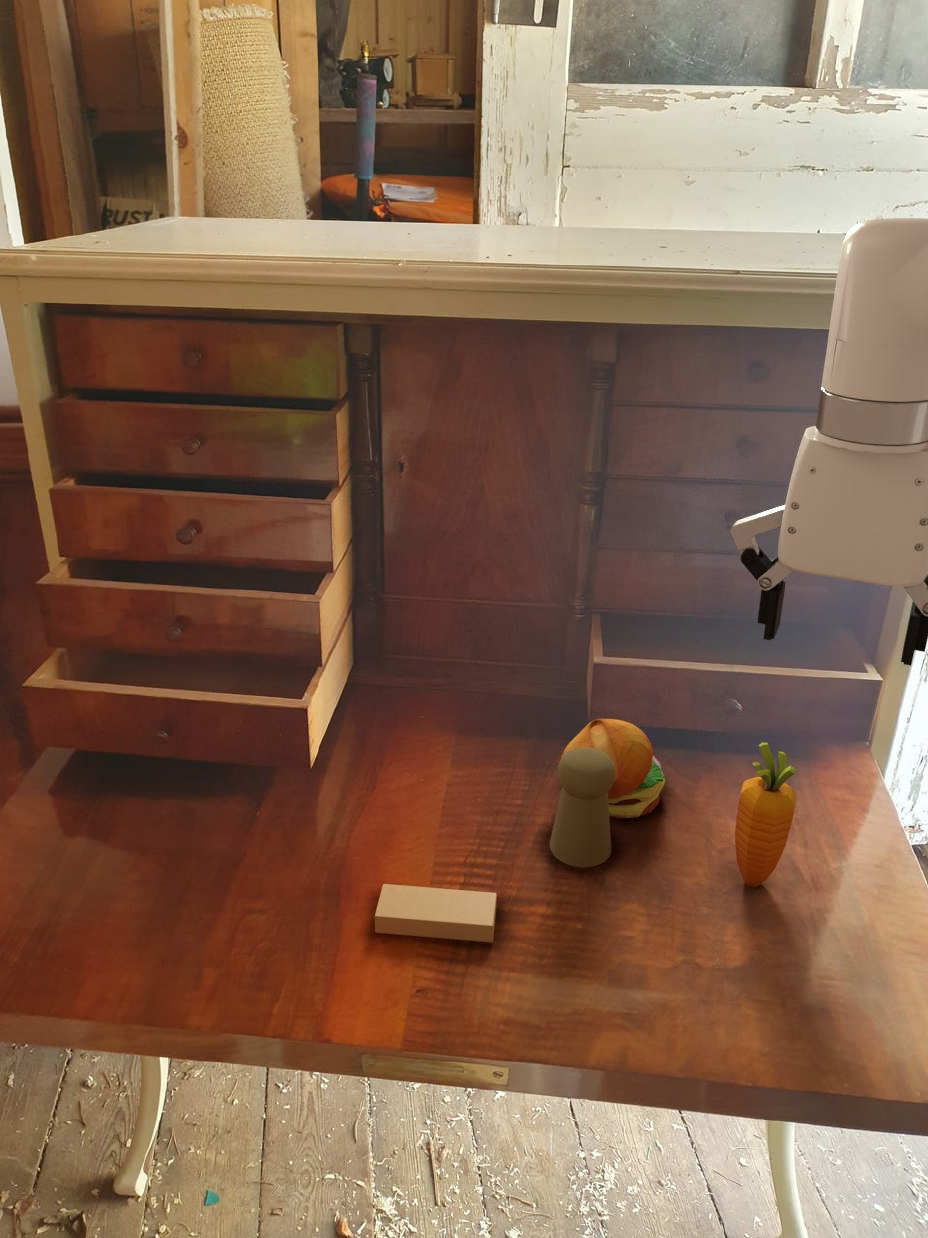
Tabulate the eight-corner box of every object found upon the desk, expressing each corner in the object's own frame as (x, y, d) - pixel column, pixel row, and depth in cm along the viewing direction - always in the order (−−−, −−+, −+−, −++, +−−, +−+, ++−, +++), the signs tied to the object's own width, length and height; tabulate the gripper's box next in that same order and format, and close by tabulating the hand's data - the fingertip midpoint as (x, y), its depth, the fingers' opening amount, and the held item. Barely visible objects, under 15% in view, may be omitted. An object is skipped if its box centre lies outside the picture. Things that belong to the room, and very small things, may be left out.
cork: (546, 870, 90) (552, 772, 85) (550, 829, 95) (555, 735, 90) (611, 876, 89) (621, 779, 84) (611, 835, 94) (620, 741, 90)
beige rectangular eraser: (496, 914, 85) (496, 892, 83) (492, 948, 81) (493, 926, 80) (383, 905, 85) (383, 883, 84) (375, 938, 82) (374, 916, 81)
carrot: (786, 907, 86) (815, 767, 79) (731, 906, 86) (755, 767, 79) (770, 869, 90) (796, 734, 84) (717, 869, 90) (739, 734, 84)
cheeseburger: (689, 799, 99) (685, 728, 94) (617, 860, 95) (609, 790, 89) (617, 754, 106) (609, 685, 101) (547, 809, 102) (535, 740, 96)
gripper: (1020, 417, 64) (966, 645, 72) (755, 395, 71) (731, 605, 78) (1023, 445, 58) (964, 691, 66) (734, 418, 65) (710, 644, 72)
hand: (837, 644), depth 72 cm, fingers open, 9 cm apart
